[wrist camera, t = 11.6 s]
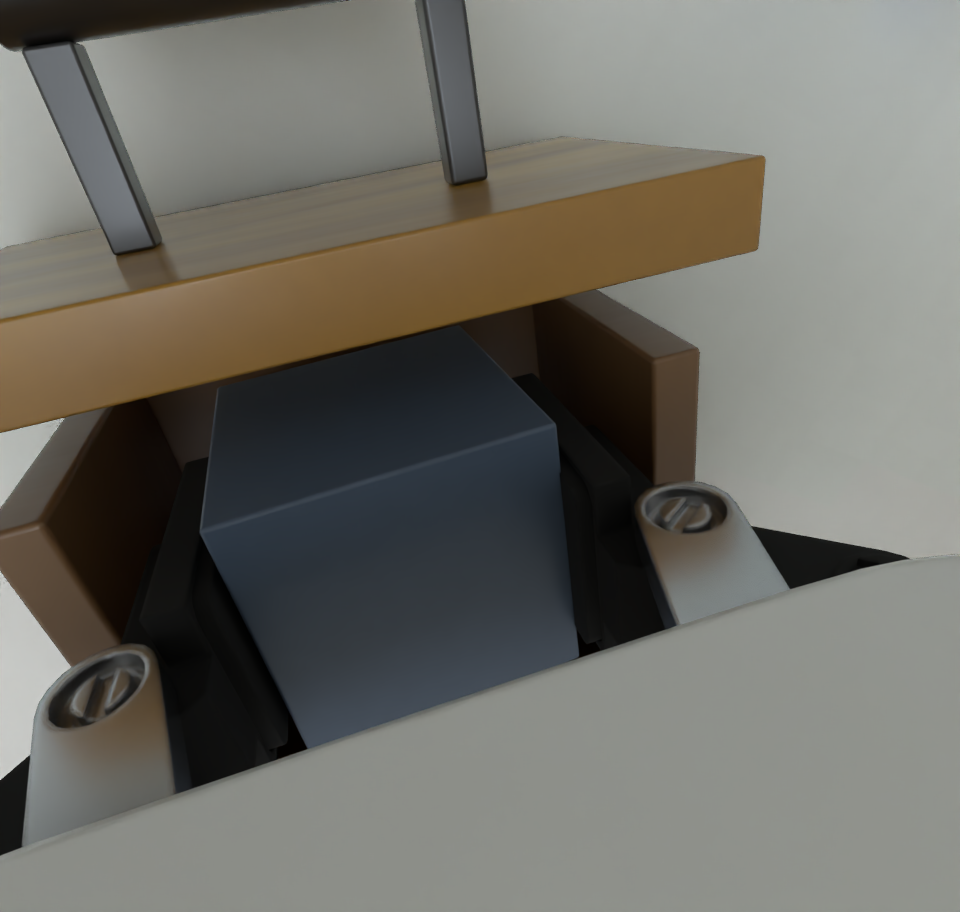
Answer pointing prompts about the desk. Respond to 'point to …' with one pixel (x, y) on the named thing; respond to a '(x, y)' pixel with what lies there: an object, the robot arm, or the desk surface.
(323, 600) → the block
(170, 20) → the drawer
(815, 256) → the desk surface
